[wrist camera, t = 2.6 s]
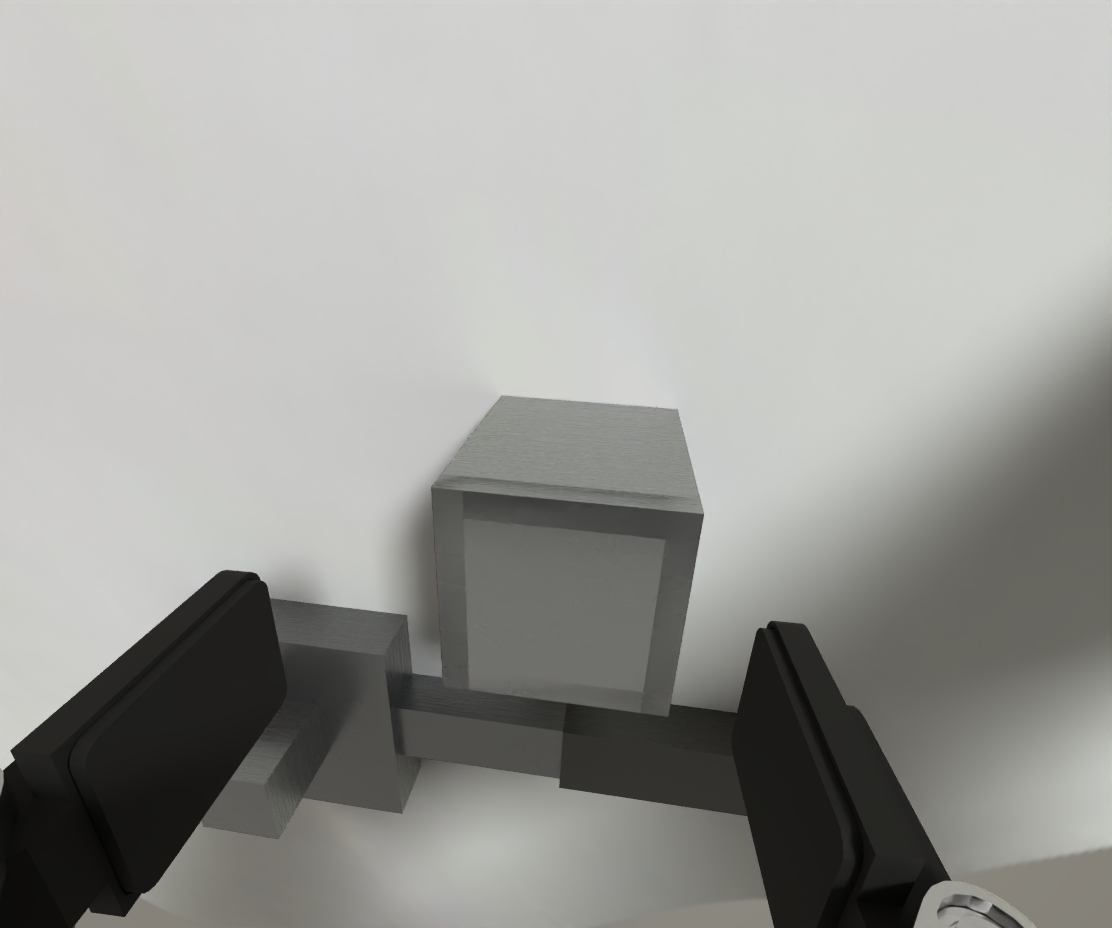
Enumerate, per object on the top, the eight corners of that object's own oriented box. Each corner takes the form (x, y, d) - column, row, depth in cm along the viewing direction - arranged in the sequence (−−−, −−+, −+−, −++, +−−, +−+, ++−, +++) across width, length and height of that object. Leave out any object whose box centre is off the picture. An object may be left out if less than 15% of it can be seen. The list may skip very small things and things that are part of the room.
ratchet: (810, 664, 18) (871, 813, 13) (762, 818, 21) (798, 979, 17) (201, 590, 20) (76, 695, 16) (243, 739, 23) (150, 863, 19)
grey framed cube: (677, 409, 15) (703, 513, 9) (656, 559, 17) (668, 716, 12) (501, 395, 15) (431, 487, 10) (501, 543, 17) (442, 686, 12)
